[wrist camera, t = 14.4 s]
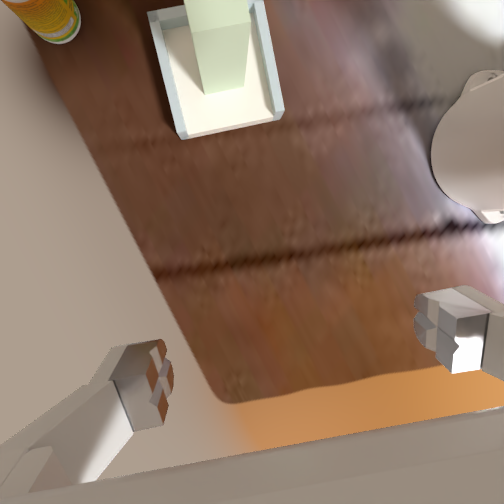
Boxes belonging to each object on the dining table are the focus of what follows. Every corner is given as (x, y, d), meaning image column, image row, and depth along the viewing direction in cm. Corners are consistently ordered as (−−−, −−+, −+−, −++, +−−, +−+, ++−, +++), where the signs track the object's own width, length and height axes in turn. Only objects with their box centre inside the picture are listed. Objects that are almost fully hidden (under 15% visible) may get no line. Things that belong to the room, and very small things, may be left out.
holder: (258, 10, 32) (261, -10, 29) (279, 119, 34) (284, 110, 31) (154, 30, 32) (146, 12, 29) (181, 140, 34) (176, 132, 31)
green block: (234, 44, 31) (237, -47, 20) (243, 87, 32) (251, 21, 21) (194, 52, 31) (175, -35, 20) (204, 95, 32) (191, 33, 21)
